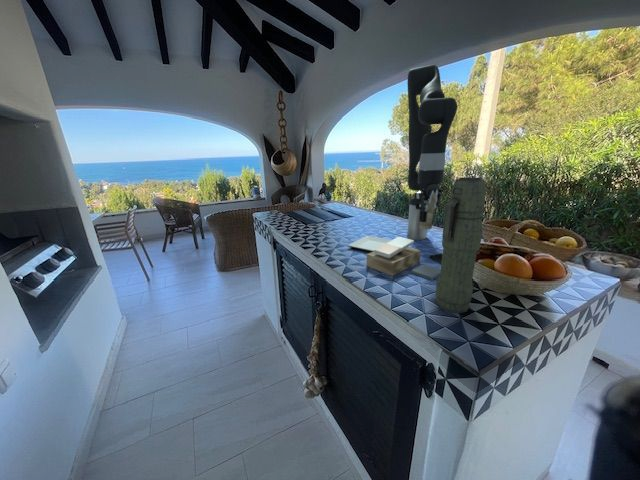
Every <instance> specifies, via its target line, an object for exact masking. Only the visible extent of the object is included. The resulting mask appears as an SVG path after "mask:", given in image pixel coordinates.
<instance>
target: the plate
mask: <svg viewBox="0 0 640 480" xmlns="http://www.w3.org/2000/svg"><path fill="white" fill-rule="evenodd" d="M392 240H393V239H391V238H385V237H384V238H383V237H378V236H372V235H366V236H363V237H362V238H359V239H357V240H355V241H353V242H351V243H350V244H348V245H347V246H348V247H349V248H353V249H357V250H360V251H365V252H366V251H367V252H369V253H371V252H374V250H375V249H377V248H379V247H381V246H382V245H384V244H386V243H388V242H390V241H392Z"/></svg>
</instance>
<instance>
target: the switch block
mask: <svg viewBox="0 0 640 480" xmlns="http://www.w3.org/2000/svg"><path fill="white" fill-rule="evenodd" d="M420 261H421V249H416V248H413V247H410V246H409V247H407V248H405V249H404V250H402V251H400V252H399V253H397V254H396V255H394V256H392V257H391V258H387V257H384V256H381V255H377V254H374V252H369V253H366V267H368V268H371V269H373V270H375V271H378V272H381V273H384V274H386V275H388V276H391V277H393V276H396V275H397V274H399V273H401V272H403V271H406V270H408V269H409V268H411V267H413V266H415V265H417V264H418V263H420Z"/></svg>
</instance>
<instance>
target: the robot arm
mask: <svg viewBox="0 0 640 480" xmlns="http://www.w3.org/2000/svg"><path fill="white" fill-rule="evenodd" d="M441 81H442V80H441V74H440V70H439V68H438V65H436V64H428V65H423V66H420V67H414V68H411V69H410V70H409V71H408V74H407V97H408V102H407V103H408V157H409V158H408V175H407V176H408V177H407V185H408V189H409V190H410V191H418V192H414V193H413V194H414V196H413V197H411V198H410V199H409V206H408V207H409V209H408V219H407V232H406V238H407V239H411V240H414V241H415V240H416V241H422V240H426V239H427V236H428V229H421V228H419V224H420V222H426V220H427V209H428V205H429V204H430V203H431V199H432V196H433V193H436V195H435V204H434V212H433V220H434V218H435V210H436V208H437V207H439V205H440V202H441V198H442V195H443V191H444V189H443V188H439V185H441V184H443V182H444V175H445V168H446V167H445V166H446V151H447V150H446V149H447V141H448V136H449V132H450V129H451V127H452V123H453V121H454V120H455V117H456V114H457V111H458V102H457V101H456V99H455V98H454V97H449V96H448V97H446V95H445V93H444V92H443V89H442V82H441ZM417 96H419V102H418V98H417ZM419 103H420V105H419ZM432 125H440V127H439V129H437V130H436V131H433V132H432V130H433V129H432ZM417 166H418V170H417ZM424 200H428V201H424ZM424 204H425V206H424Z"/></svg>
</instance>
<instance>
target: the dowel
mask: <svg viewBox="0 0 640 480" xmlns="http://www.w3.org/2000/svg"><path fill="white" fill-rule="evenodd" d="M435 195H436V193H433V196H432V199H431V203H430V204H429V205H428V209H427V220H426V222H420V224H419V228H421V229H427V230H432V228H433V220H434V219H433V212H434V213H435V210H434V204H435ZM424 201H428V200H424ZM424 206H425V204H424Z"/></svg>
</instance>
